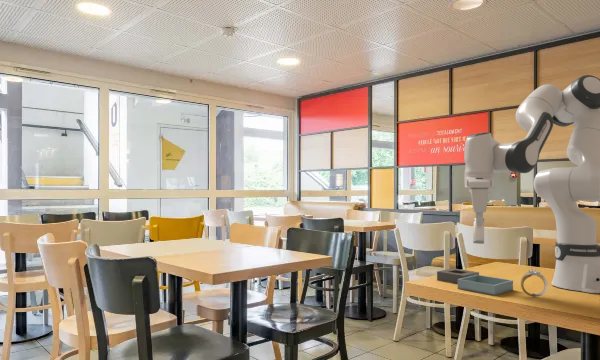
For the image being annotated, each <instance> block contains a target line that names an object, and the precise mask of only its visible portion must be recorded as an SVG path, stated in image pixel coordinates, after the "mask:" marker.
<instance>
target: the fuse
mask: <svg viewBox="0 0 600 360" xmlns="http://www.w3.org/2000/svg"><path fill="white" fill-rule="evenodd" d="M472 234H473V240H472V241H473V242H472V243H473V244H479V245H481V244H485V218H484V217H483V225H482V226H477V225H476V217H473V233H472Z"/></svg>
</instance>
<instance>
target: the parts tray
mask: <svg viewBox="0 0 600 360" xmlns="http://www.w3.org/2000/svg"><path fill="white" fill-rule="evenodd" d="M457 289H458V290H463V291H468V292H472V291H473V293H478V292H479V293H478V294H483V293H484V294H483V295H488V294H489V296H493V295H494V296H495V297H496V296H498V295H501V294H502V295H503V294H505V293H508V292H512V291H513V290H514V280H513V279H506V278H502V277H501V278H500V277H493V276H487V275H481V274H479V275H473V276H469V277H465V278H461V279H458V284H457ZM494 296H493V297H494Z"/></svg>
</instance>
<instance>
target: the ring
mask: <svg viewBox="0 0 600 360" xmlns="http://www.w3.org/2000/svg"><path fill="white" fill-rule="evenodd" d="M541 272H542V271H540V270H537V269H531V270H530V269H528V271H527V272H526V273H524V274H523V275H522V276H521V278H520V287H521V290H522V291H523V292H524V294H526V295H527V296H530V297H532V298H534V297H535V298H538V297H541V296H543V295H544V294H545V293H546V292H547V289H548V280H547V279H546V277H545V276H544V275H543V274H541ZM533 276H534V277H535V276H536V277H539V278H540V279H541V280H542V283H543V290H542V291H541V292H539V293H534V292H532V293H530V292H529V291H527V290H526V289H525V286H524V284H525V282H526V280H527V279H528V278H530V277H533Z"/></svg>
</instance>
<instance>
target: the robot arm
mask: <svg viewBox="0 0 600 360" xmlns="http://www.w3.org/2000/svg"><path fill="white" fill-rule="evenodd" d="M515 120H516V123H517V125H518V126H519V127H520V128H521V129H522V130H524V131H525V132H527V134H526V136H525V137H524V138H523V139H521V140H518V141H514V142H505V143H504V142H503V143H500V142H499V141H497V140H496V139H494V137H492V136H493V135H492V133H491V132H488V131H484V132H477V133H473V134H469V135H468V136H466V139H465V143H464V151H463V152H464V156H463V157H464V159H463V160H464V163H465V168H464V169H465V170H464V178H463V179H464V189H465V188H467V189H468V193H469V194H470V196H471V203H472V205H471V206H472V210H473V212H474V213H475V218H476V225H477V226H482V225H483V218H484V213H486V212H487V209H488V208H487V207H488V200H489V194H490V192H491V191H490V189H493V188H495V181H494V180H495V178H494V177H495V176H494V175H495V173H497V174H498V173H501V174H502V173H504V174H505V173H515V174H517V173H519V174H527V173H530V172H531V171H533V169H535V168H536V166H537V164H538V162H539V157H540V154H541V152H542V150H543V147H544V146H545V144H546V142H547V140H548V138H549V136H550V134H551V132H552V131H553V128H554V125H556V126H557V127H562V128H565V127H568V126H571V125H572V124H573V130H572V133H571V135H570V137H569V138H570V139H569V141H568V145H567V147H566V156H567V159H569V161H570V162H572V163H573V164H574V165H576V166H571V167H569V166H568V167H552V168H547V169H542V170H540V171H538V172H537V174H535V177H534V180H533V188H534V189H533V190H534V192H535V194H537V196H538V197H539V198H541V199H542V200H543V201H545V203H547V205H548V206H549V207H550V209H551V211H552V213H553V216H554V219H555V226H556V227H555V228H556V241H555V247H554V256H555V257H554V258H555V259H556V260H555V267H554V273H553V277H552V281H551V283H550V284H551V285H552V286H554V287H557V288H561V289H564V290H565V289H566V290H570V291H577V292H578V291H579V292H583V293H589V294H600V245H599V244H597V222H596V219H595V218H594V217H593V216H592V215H590V214H589V213H586V212H585V211H582V210H581V209H580V208H579V206H578V203H577V202H579V201H580V202H582V201H583V202H584V201H585V202H600V78H598V77H596V76H594V75H592V74H585V75H582V76H580V77H577V78H576V79H575V80H573V81H572V82H571V84H569V85H568V86H567V87H565V88H564V89H563V90H561V89H560V88H559V87H558V86H556V85H554V84H551V83H548V84H547V83H545V84H541V85H540V86H539V87H536V89H534V90H533V91H532V92H530V94H528V96H527V97H526V98H524V100H523V101H522V102H521V103H520V105H519V106H518V107H517V109H516V112H515Z"/></svg>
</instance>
